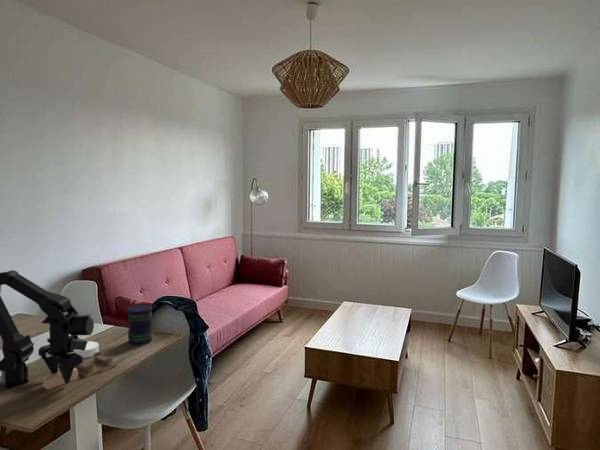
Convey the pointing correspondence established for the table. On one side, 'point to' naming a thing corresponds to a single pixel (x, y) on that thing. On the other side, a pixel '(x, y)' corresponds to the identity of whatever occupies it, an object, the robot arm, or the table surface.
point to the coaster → (88, 349)
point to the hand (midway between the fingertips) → (61, 379)
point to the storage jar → (140, 325)
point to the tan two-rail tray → (95, 365)
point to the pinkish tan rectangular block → (57, 379)
